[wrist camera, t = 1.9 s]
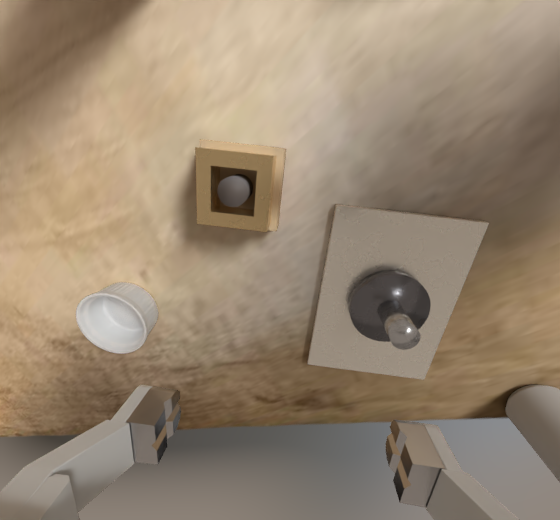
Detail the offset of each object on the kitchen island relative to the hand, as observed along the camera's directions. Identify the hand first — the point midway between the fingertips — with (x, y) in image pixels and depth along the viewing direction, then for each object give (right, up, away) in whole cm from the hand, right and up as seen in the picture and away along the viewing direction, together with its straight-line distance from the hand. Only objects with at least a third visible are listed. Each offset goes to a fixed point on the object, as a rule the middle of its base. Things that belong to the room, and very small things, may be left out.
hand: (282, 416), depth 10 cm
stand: (-4, +14, +19) cm, 24 cm away
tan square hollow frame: (-4, +13, +16) cm, 21 cm away
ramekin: (-20, 0, +26) cm, 33 cm away
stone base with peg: (+13, +1, +23) cm, 26 cm away
